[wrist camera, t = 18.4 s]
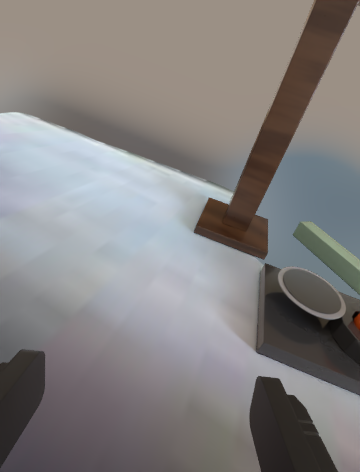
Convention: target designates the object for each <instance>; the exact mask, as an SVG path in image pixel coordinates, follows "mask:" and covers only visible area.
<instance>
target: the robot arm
mask: <svg viewBox="0 0 360 472" xmlns="http://www.w3.org/2000/svg"><path fill="white" fill-rule="evenodd" d="M44 389H45V354H44V352H43V351H34V350H25V349H22V350H20V351H19V352H18V353H17V354H16V355H15V357H14V358H13V359H12V360H11V361H10V362H9V363H1V364H0V468H1V466H2V464H3V463H4V461H5V459H6V458H7V456H8V455H9V453H10V451H11V450H12V448H13V447H14V445H15V443H16V442H17V440H18V438H19V437H20V435H21V434H22V432H23V430H24V429H25V427H26V425H27V424H28V422H29V421H30V419H31V417H32V416H33V414H34V413H35V411H36V409H37V408H38V406H39V404H40V402H41V400H42V397H43V394H44ZM250 428H251V433H252V437H253V441H254V445H255V449H256V452H257V456H258V460H259V464H260V468H261V472H338V471H337V469H336V467H335V465H334V463H333V461H332V459H331V457H330V455H329V453H328V451H327V449H326V447H325V445H324V443H323V441H322V439H321V437H319V435H318V434H319V433H318V431H317V429H316V427H315V425H314V424H313V421H312V420H311V418H310V416H309V414H308V412H307V410H306V408H305V407H304V406H303V405H302V403H301V402H300V401H299V400H298V399H297V398H296V397H295V396H294V395H287V394H286V392H285V390H284V387H283V385H282V383H281V381H280V379H278V378H271V377H262V376H258V377H257V379H256V383H255V388H254V393H253V398H252V403H251V407H250Z"/></svg>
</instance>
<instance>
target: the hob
mask: <svg viewBox="0 0 360 472" xmlns="http://www.w3.org/2000/svg"><path fill="white" fill-rule="evenodd" d="M280 270H281V269H279V268H276V267H273V266H271V265H269V264H266V263H265V265H264V266H263V268H262V270H261V271H260V287H259V310H258V333H257V353H260V354H262V355H265V356H267V357H269V358H272V359H274V360H277V361H279V362H281V363H284V364H286V365H289V366H291V367H293V368H296V369H298V370H301V371H303V372H305V373H308V374H310V375H313V376H315V377H317V378H320V379H322V380H325V381H327V382H329V383H332V384H334V385H337V386H339V387H341V388H344V389H346V390H349V391H351V392H353V393H356V394H358V395H360V331H359V329H358V328H357V327H356V326H355V324H354V318H355V317H356V316H357V314H358V313H359V312H360V300H359V299H356V298H353V297H351V296H348V295H345V294H343V293H341V292H339V294H340V295H341V296H342V298H343V300H344V302H345V306H346V312H345V314H344V315H343V316H342V317H341V318H339V319H333V320H332V319H324V318H320V317H317V316H315V315H312V314H310V313H308V312H307V311H305V310H303V309H302V308H300V307H299V306H297V305H296V304H295V303H294V302H292V301H291V300H290V299H289V298H288V297H287V295H286V294H285V293H284V292H283V290H282V289H281V287H280V285H279V282H278V273H279V272H280Z"/></svg>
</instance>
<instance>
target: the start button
mask: <svg viewBox="0 0 360 472" xmlns="http://www.w3.org/2000/svg"><path fill="white" fill-rule="evenodd" d="M354 324H355V326H356V327H357V328H358V329H359V331H360V312H359V313H358V314H357V316H356V317H355V318H354Z"/></svg>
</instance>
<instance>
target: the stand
mask: <svg viewBox="0 0 360 472" xmlns="http://www.w3.org/2000/svg"><path fill="white" fill-rule="evenodd" d="M357 5H359V6H360V0H314V3H313V5H312V7H311V10H310V12H309V15H308V17H307V19H306V22H305V24H304V27H303V29H302V31H301V33H300V36H299V38H298V41H297V43H296V45H295V48H294V50H293V53H292V55H291V57H290V60H289V62H288V64H287V67H286V69H285V72H284V74H283V76H282V79H281V81H280V84H279V86H278V88H277V91H276V93H275V96H274V98H273V100H272V103H271V105H270V107H269V110H268V112H267V115H266V117H265V120H264V122H263V124H262V127H261V129H260V131H259V134H258V136H257V139H256V141H255V143H254V146H253V148H252V150H251V153H250V155H249V158H248V160H247V163H246V165H245V167H244V170H243V172H242V175H241V177H240V179H239V181H238V184H237V186H236V189H235V191H234V193H233V196H232V198H231V201H230V203H229V205H228V204H225V203H223V202H220V201H218V200H215V199H212V198H209V199H208V201H207V204H206V206H205V208H204V210H203V212H202V214H201V216H200V219H199V221H198V223H197V225H196V228H195V230H194V233H197V234H199V235H202V236H204V237H207V238H210V239H212V240H215V241H217V242H220V243H222V244H225V245H228V246H230V247H233V248H235V249H238V250H240V251H243V252H246V253H248V254H251V255H253V256H256V257H258V258H261V259H265V257H266V255H267V253H268V219H265V218H263V217H260V216H257V215H255V213H256V211H257V209H258V207H259V205H260V203H261V201H262V199H263V197H264V195H265V193H266V191H267V189H268V187H269V185H270V183H271V180H272V178H273V176H274V174H275V172H276V170H277V168H278V166H279V164H280V162H281V160H282V158H283V156H284V154H285V152H286V150H287V148H288V146H289V144H290V142H291V140H292V138H293V136H294V134H295V132H296V129H297V127H298V125H299V123H300V121H301V119H302V117H303V115H304V113H305V111H306V109H307V107H308V105H309V103H310V101H311V99H312V97H313V95H314V93H315V90H316V89H317V87H318V84H319V82H320V80H321V78H322V76H323V74H324V72H325V70H326V68H327V66H328V64H329V62H330V60H331V58H332V56H333V54H334V52H335V50H336V48H337V46H338V44H339V42H340V40H341V37H342V35H343V33H344V31H345V29H346V27H347V25H348V23H349V21H350V19H351V17H352V15H353V13H354V11H355V9H356V7H357Z"/></svg>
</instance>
